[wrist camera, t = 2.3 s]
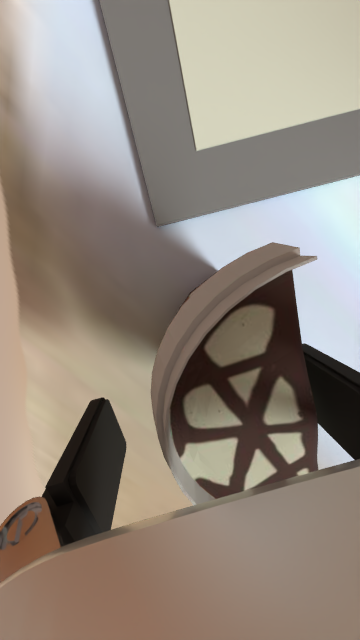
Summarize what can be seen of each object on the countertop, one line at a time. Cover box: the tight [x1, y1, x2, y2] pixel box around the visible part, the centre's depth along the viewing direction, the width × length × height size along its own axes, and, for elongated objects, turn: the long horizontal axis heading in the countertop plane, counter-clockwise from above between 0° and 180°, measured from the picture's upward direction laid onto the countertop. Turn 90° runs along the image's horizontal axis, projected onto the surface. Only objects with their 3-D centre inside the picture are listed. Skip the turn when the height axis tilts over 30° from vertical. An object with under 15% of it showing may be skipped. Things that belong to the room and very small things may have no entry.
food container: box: [151, 242, 318, 505], centre depth 11 cm, size 12×6×10 cm, turn 17°
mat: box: [99, 0, 360, 227], centre depth 11 cm, size 20×14×1 cm
